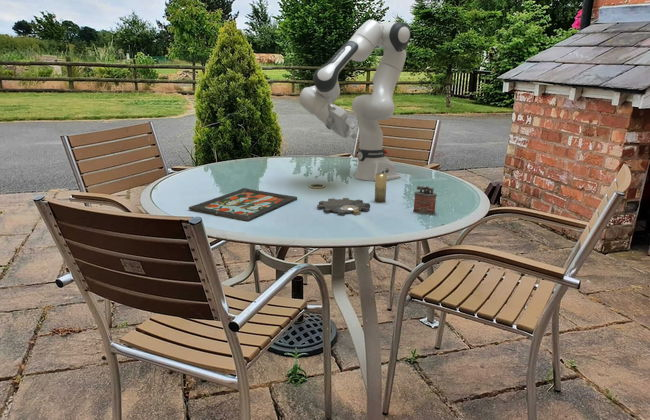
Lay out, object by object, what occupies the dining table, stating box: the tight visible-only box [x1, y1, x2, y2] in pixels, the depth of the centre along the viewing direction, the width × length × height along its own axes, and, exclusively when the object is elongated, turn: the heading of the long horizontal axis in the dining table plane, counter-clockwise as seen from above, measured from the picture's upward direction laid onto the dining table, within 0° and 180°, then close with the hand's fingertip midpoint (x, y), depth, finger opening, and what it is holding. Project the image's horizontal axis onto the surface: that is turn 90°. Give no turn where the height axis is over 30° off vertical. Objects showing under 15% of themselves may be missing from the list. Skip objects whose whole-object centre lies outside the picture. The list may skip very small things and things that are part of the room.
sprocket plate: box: [316, 197, 371, 217], centre depth 184 cm, size 20×20×1 cm
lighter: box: [412, 185, 437, 215], centre depth 178 cm, size 8×3×10 cm, turn 71°
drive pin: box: [374, 173, 388, 204], centre depth 192 cm, size 4×4×11 cm
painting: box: [188, 187, 298, 222], centre depth 186 cm, size 28×35×2 cm
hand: (354, 132), depth 203 cm, fingers open, 8 cm apart
